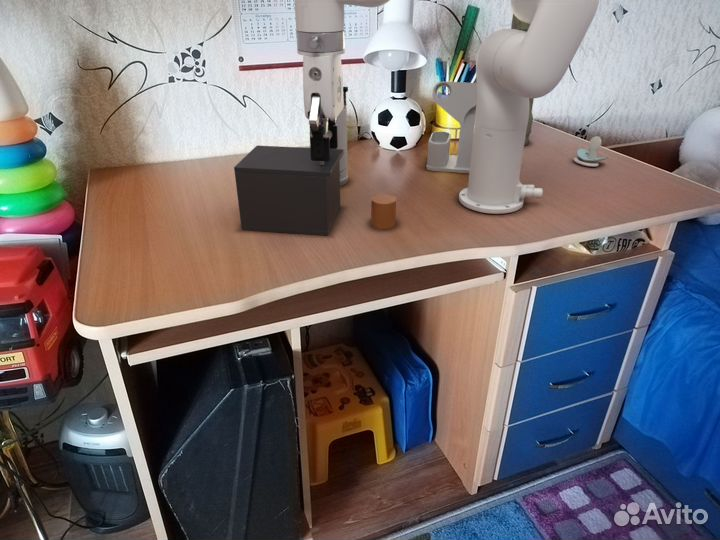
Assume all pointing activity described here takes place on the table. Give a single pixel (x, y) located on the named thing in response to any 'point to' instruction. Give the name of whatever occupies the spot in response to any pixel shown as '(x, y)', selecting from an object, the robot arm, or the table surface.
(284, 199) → the dark storage box
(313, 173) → the lid
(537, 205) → the table surface
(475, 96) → the gray holder stand
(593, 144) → the pacifier
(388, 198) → the orange cylinder
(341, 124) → the travel mug
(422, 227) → the table surface
